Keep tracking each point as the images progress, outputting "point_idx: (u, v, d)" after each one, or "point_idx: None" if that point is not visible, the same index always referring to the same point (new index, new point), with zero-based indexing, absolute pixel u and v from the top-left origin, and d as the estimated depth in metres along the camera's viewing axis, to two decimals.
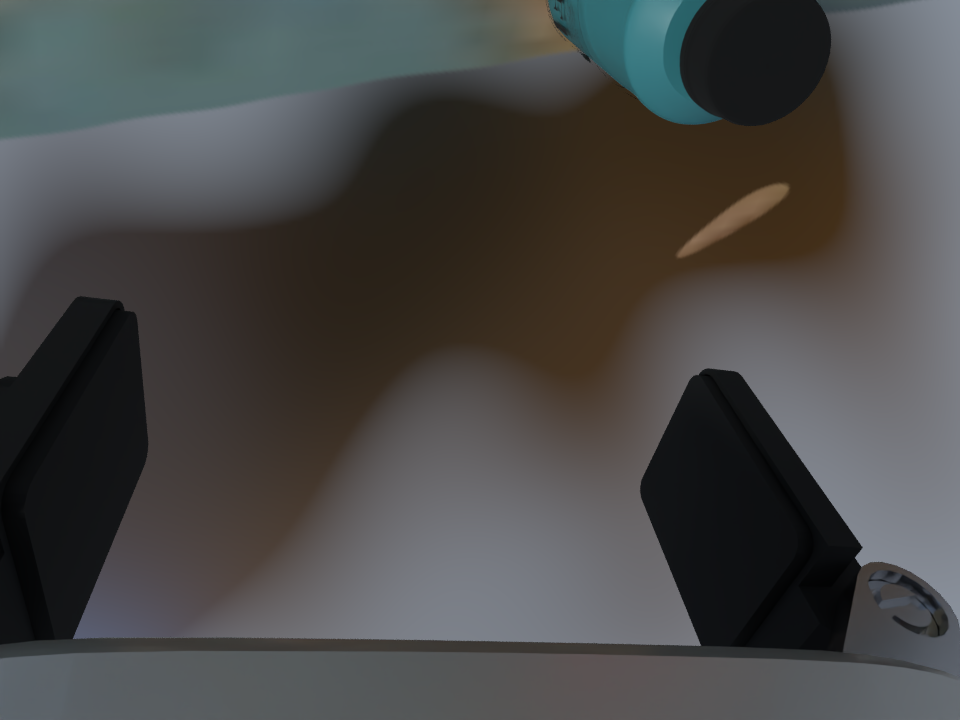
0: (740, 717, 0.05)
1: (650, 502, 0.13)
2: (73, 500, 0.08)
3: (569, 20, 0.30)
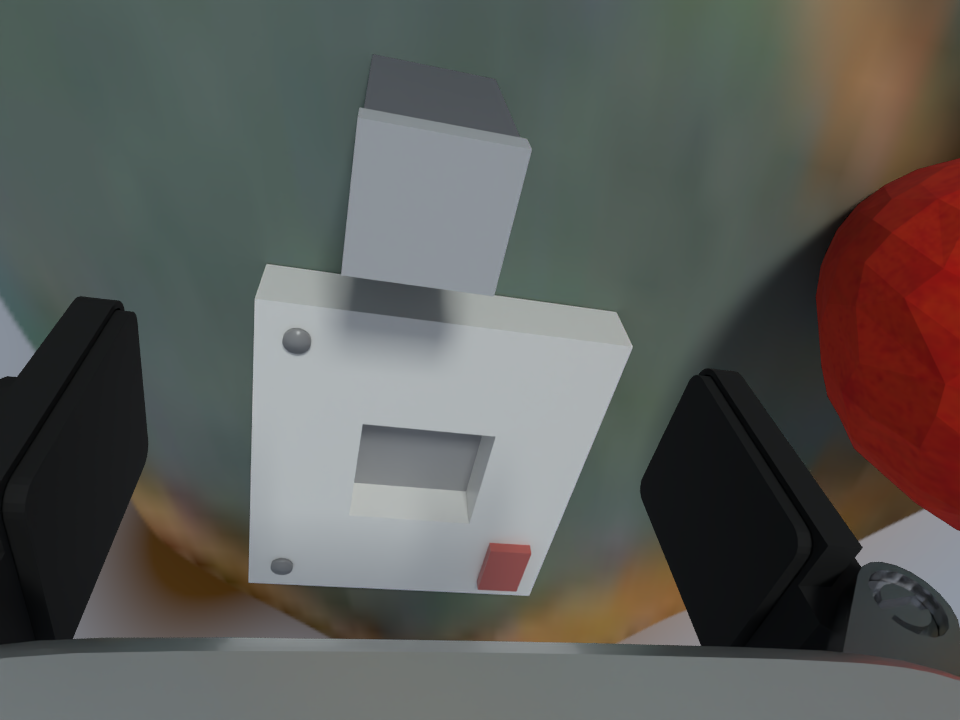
0: (741, 715, 0.05)
1: (650, 502, 0.13)
2: (73, 500, 0.08)
3: None
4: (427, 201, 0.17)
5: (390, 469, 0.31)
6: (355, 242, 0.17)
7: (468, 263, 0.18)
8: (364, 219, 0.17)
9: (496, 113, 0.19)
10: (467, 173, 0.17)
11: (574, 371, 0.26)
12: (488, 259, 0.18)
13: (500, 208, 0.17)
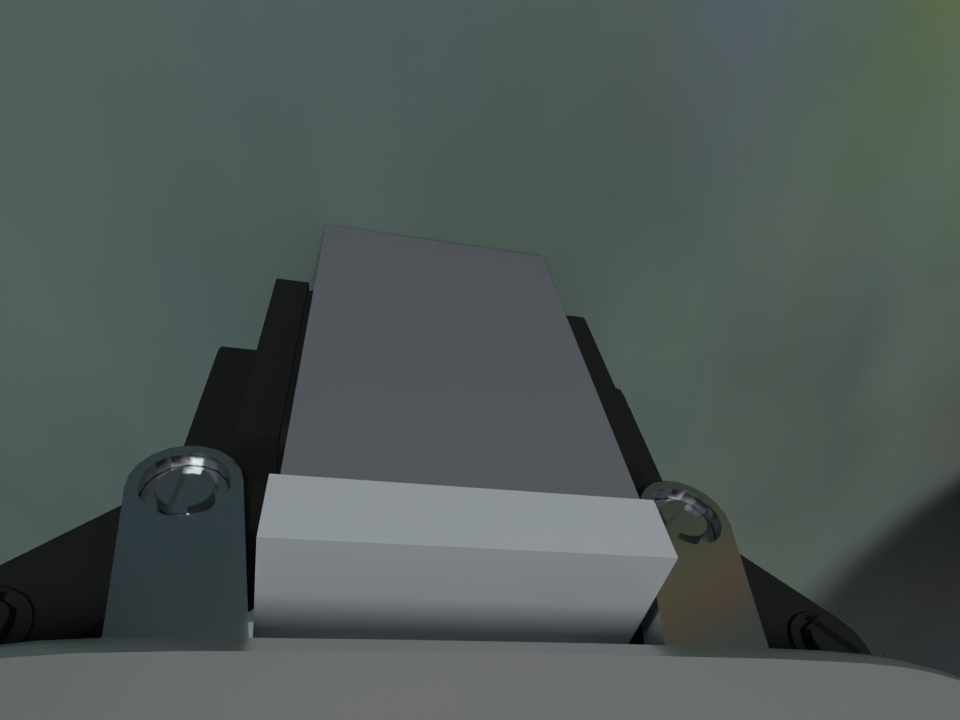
0: (740, 717, 0.05)
1: None
2: None
3: None
4: None
5: None
6: None
7: None
8: None
9: (566, 385, 0.09)
10: (526, 604, 0.07)
11: None
12: None
13: None
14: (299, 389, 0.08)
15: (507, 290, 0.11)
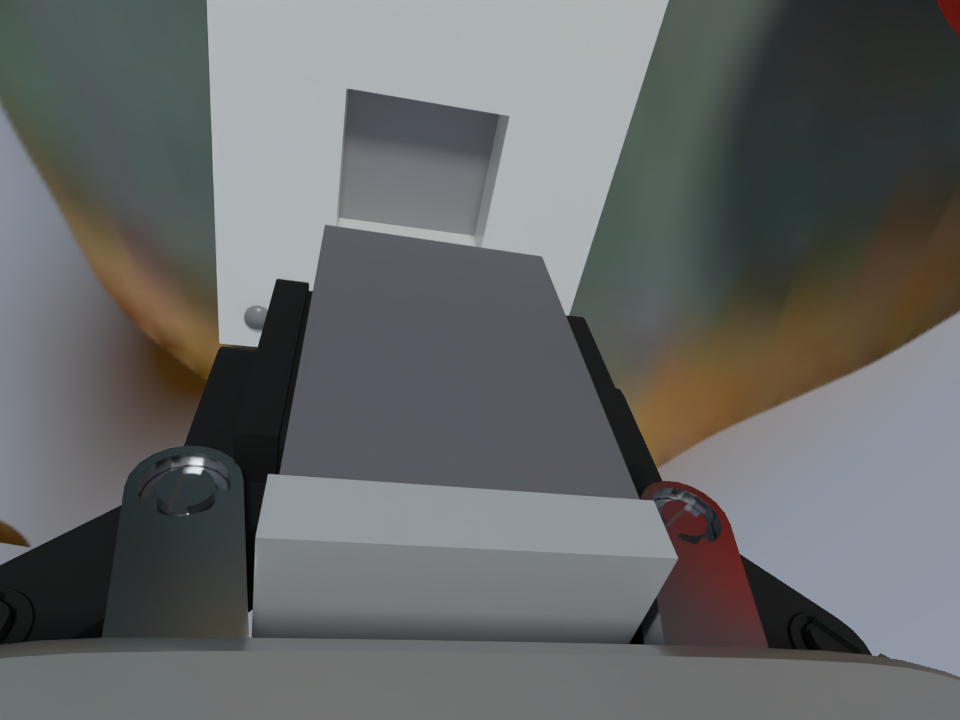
0: (740, 717, 0.05)
1: None
2: None
3: None
4: None
5: (384, 198, 0.26)
6: None
7: None
8: None
9: (566, 386, 0.09)
10: (525, 605, 0.07)
11: (606, 8, 0.21)
12: None
13: None
14: (298, 389, 0.08)
15: (507, 290, 0.11)
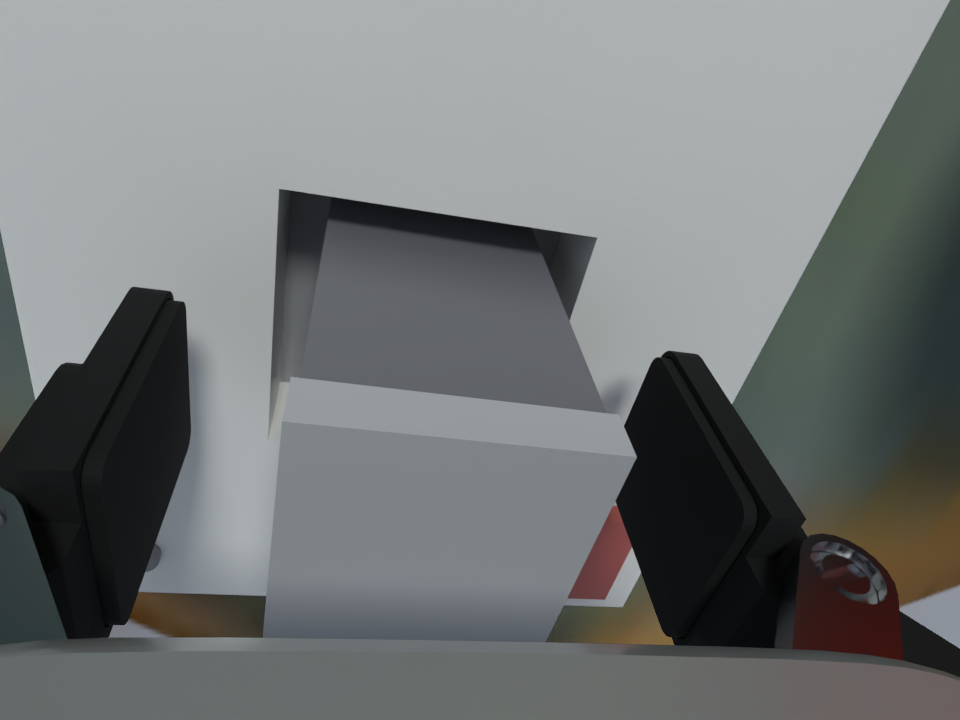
0: (740, 715, 0.05)
1: None
2: (135, 478, 0.09)
3: None
4: (426, 539, 0.09)
5: None
6: (287, 599, 0.09)
7: (498, 615, 0.10)
8: (303, 569, 0.09)
9: (547, 326, 0.11)
10: (507, 497, 0.08)
11: (812, 37, 0.10)
12: (536, 608, 0.10)
13: (565, 541, 0.09)
14: (314, 317, 0.09)
15: (497, 249, 0.12)
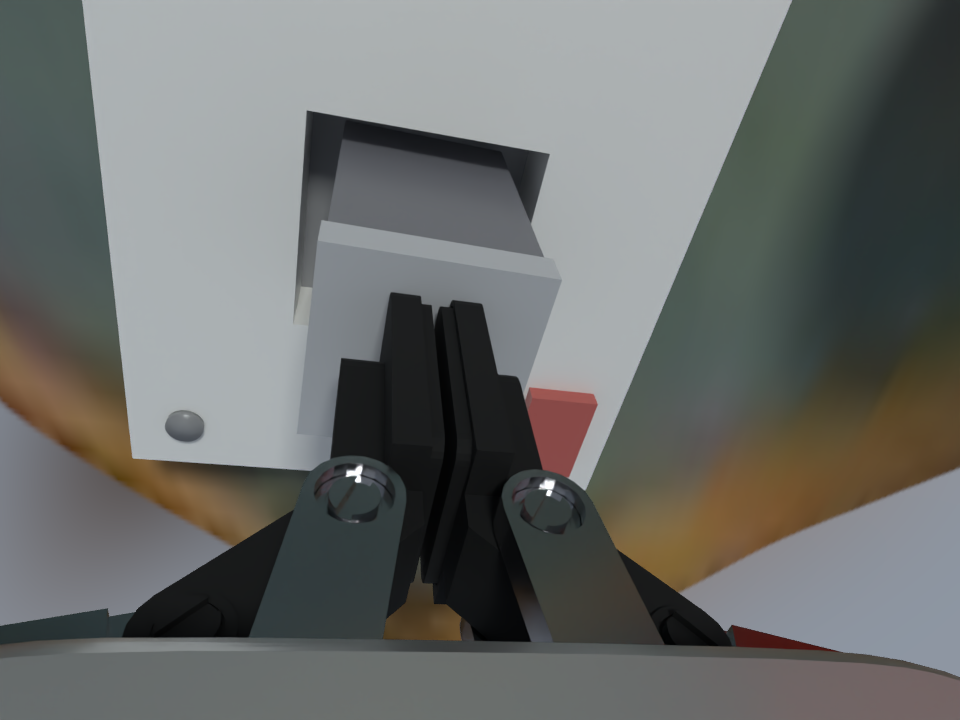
0: (741, 717, 0.05)
1: None
2: None
3: None
4: None
5: None
6: (316, 394, 0.13)
7: None
8: (328, 367, 0.12)
9: (507, 211, 0.14)
10: None
11: None
12: None
13: (515, 351, 0.13)
14: (335, 193, 0.13)
15: (473, 165, 0.16)
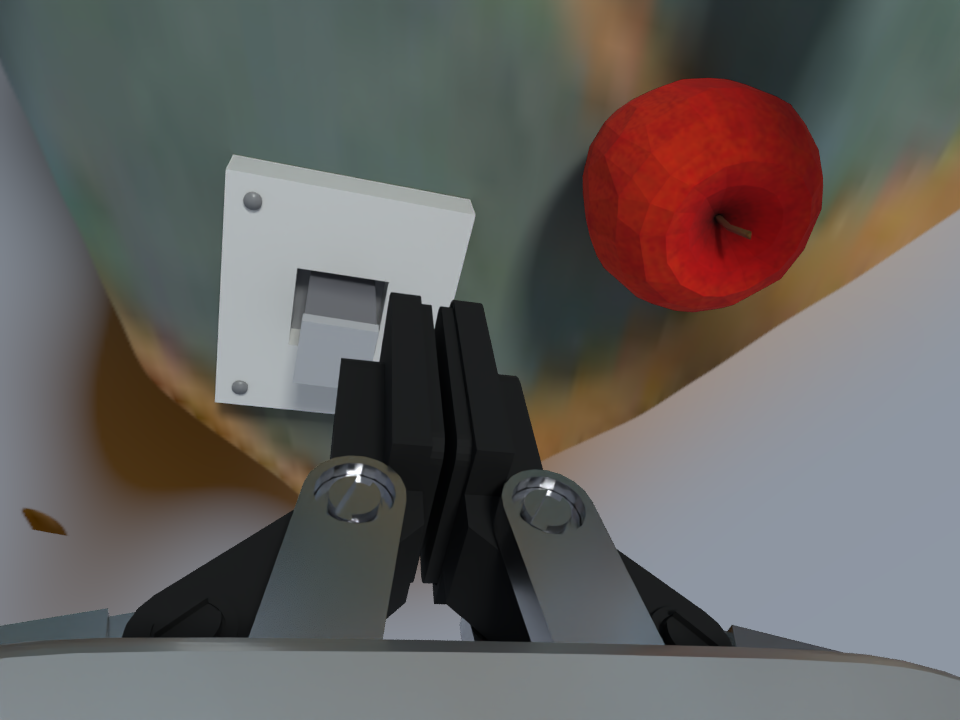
0: (740, 717, 0.05)
1: None
2: None
3: None
4: (332, 352, 0.38)
5: None
6: (299, 368, 0.38)
7: None
8: (304, 359, 0.38)
9: (368, 306, 0.40)
10: (350, 341, 0.38)
11: (438, 232, 0.40)
12: None
13: (366, 355, 0.38)
14: (307, 301, 0.38)
15: (360, 284, 0.42)
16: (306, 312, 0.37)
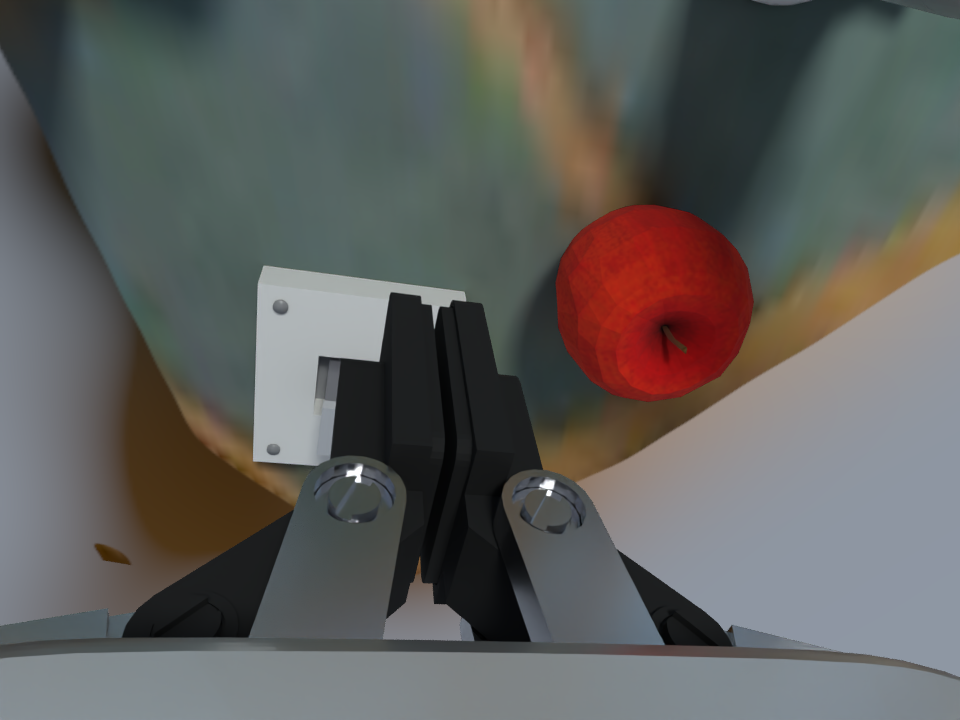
0: (740, 718, 0.05)
1: None
2: None
3: None
4: None
5: None
6: (321, 443, 0.46)
7: None
8: (325, 436, 0.45)
9: None
10: None
11: None
12: None
13: None
14: (327, 387, 0.46)
15: None
16: (326, 398, 0.45)
